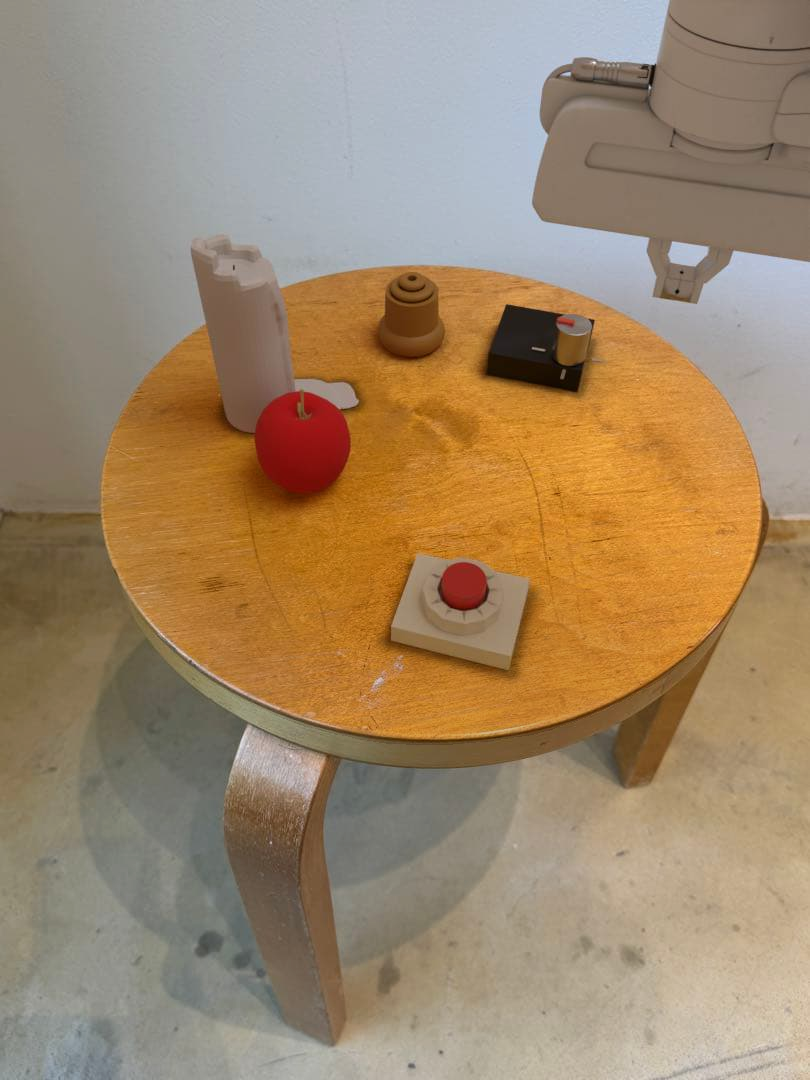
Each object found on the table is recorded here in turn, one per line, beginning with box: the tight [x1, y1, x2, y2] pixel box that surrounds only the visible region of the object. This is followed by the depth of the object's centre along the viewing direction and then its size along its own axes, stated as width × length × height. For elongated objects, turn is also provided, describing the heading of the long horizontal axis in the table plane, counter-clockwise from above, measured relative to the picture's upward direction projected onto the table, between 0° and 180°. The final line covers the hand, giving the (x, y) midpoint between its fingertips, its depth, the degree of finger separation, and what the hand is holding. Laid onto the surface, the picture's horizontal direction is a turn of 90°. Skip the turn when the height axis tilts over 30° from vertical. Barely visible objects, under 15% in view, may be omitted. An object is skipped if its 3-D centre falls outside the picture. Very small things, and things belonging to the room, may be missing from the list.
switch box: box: [390, 552, 531, 671], centre depth 71 cm, size 10×8×4 cm
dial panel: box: [485, 303, 606, 393], centre depth 92 cm, size 12×11×3 cm
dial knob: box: [551, 313, 592, 366], centre depth 88 cm, size 4×4×4 cm
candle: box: [190, 233, 360, 434], centre depth 81 cm, size 7×14×20 cm, turn 105°
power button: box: [441, 562, 487, 610], centre depth 69 cm, size 4×4×2 cm
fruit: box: [254, 389, 352, 494], centre depth 79 cm, size 9×9×10 cm
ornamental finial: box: [377, 271, 446, 358], centre depth 93 cm, size 8×8×8 cm
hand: (675, 295), depth 56 cm, fingers closed
